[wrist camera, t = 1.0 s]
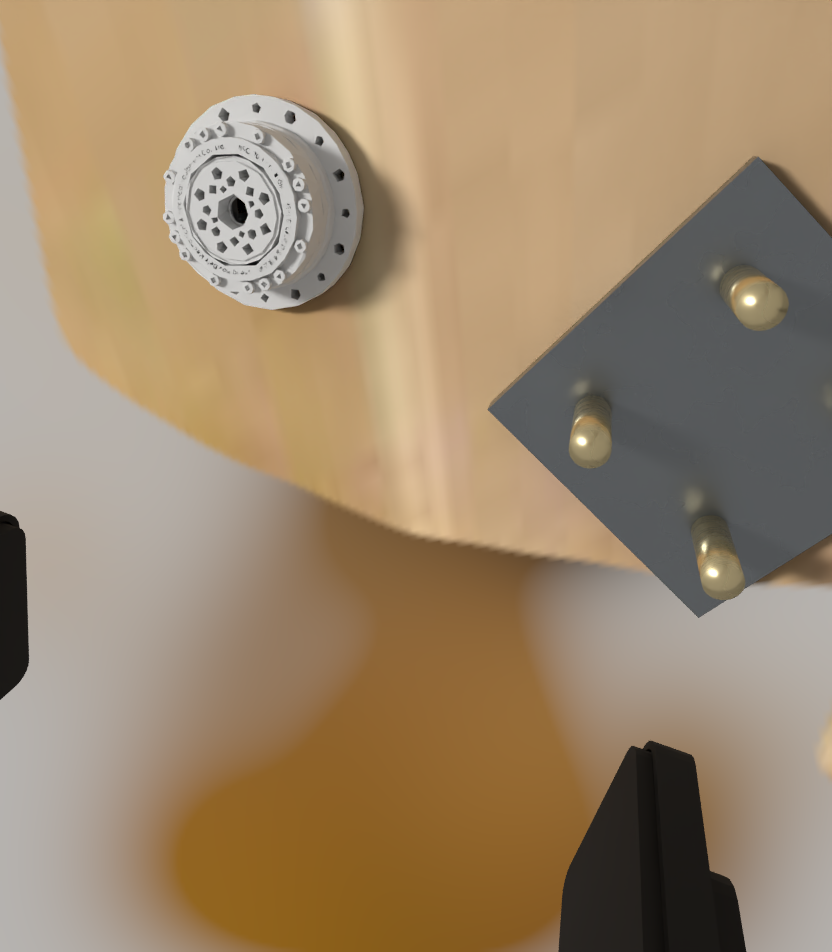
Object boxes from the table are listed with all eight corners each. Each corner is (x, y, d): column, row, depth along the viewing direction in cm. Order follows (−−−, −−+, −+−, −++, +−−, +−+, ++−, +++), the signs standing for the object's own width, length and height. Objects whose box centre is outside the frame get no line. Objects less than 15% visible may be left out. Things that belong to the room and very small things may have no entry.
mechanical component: (232, 328, 40) (393, 270, 37) (191, 346, 36) (368, 283, 33) (153, 143, 37) (320, 61, 34) (99, 141, 33) (282, 49, 30)
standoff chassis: (753, 156, 31) (783, 156, 25) (989, 417, 33) (1066, 470, 27) (491, 402, 38) (470, 443, 32) (696, 605, 40) (709, 677, 34)
